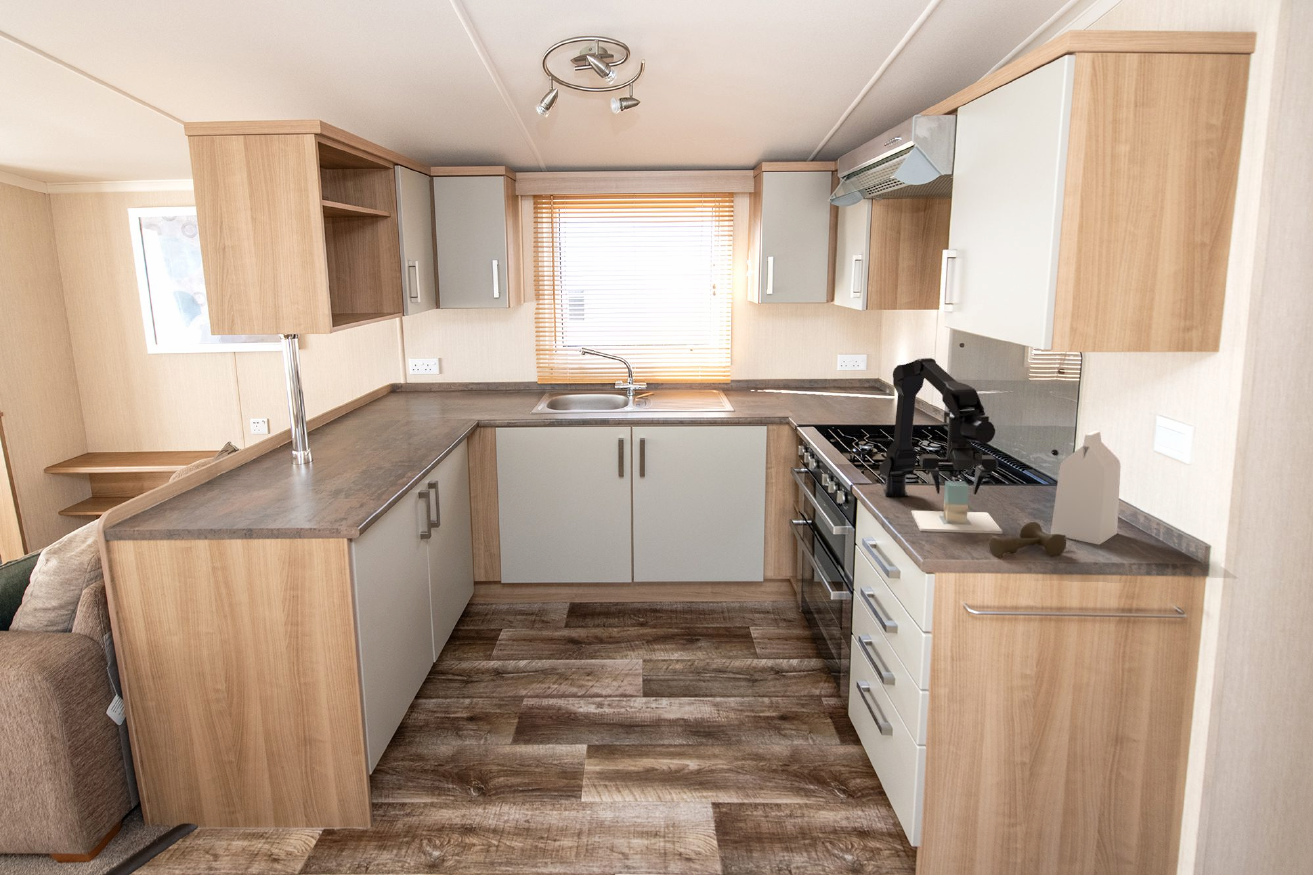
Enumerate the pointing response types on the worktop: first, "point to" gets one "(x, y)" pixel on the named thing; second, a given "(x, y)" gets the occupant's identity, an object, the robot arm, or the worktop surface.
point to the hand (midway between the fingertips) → (956, 493)
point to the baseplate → (937, 523)
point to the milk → (1088, 493)
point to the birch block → (955, 513)
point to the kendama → (1028, 541)
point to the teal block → (956, 492)
